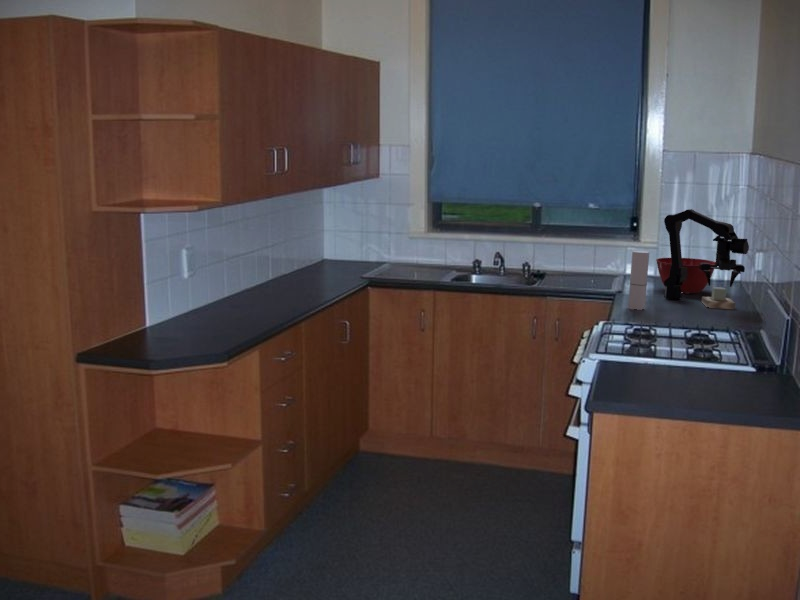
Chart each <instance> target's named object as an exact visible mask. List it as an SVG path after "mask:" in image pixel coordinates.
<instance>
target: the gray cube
mask: <svg viewBox="0 0 800 600" xmlns="http://www.w3.org/2000/svg"><path fill="white" fill-rule="evenodd" d="M711 289H712V291H711V296H710V297H711V298H712V299H713V300H725V298H727V288H725V287H722V286H721V287H720V286H719V287H718V286H717V287H716V286H712V287H711Z"/></svg>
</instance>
